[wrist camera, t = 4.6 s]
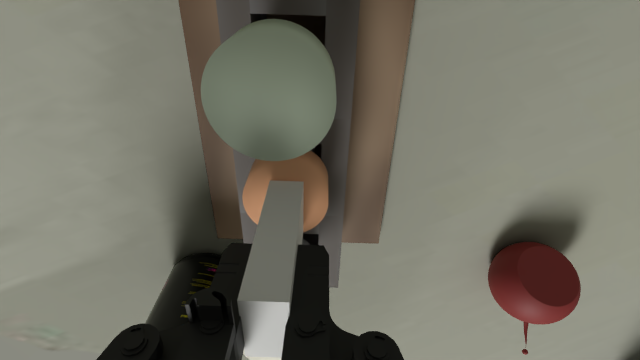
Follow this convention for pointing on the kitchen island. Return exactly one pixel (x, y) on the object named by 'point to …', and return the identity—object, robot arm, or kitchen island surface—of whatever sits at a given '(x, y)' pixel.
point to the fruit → (534, 283)
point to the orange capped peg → (294, 169)
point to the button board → (349, 121)
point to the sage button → (270, 90)
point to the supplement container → (182, 289)
